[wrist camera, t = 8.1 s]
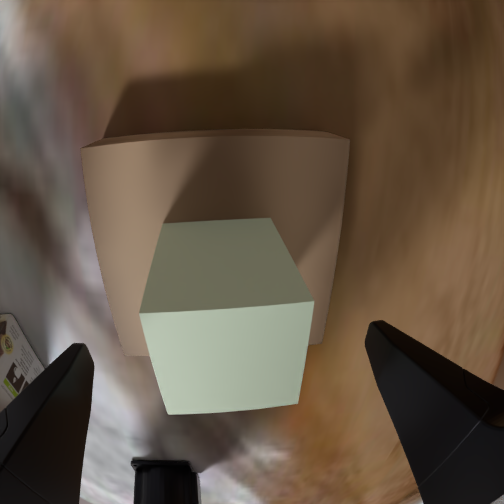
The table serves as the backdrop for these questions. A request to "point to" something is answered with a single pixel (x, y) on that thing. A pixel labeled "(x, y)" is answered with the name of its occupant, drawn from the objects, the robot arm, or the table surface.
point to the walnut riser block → (213, 204)
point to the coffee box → (15, 361)
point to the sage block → (225, 317)
